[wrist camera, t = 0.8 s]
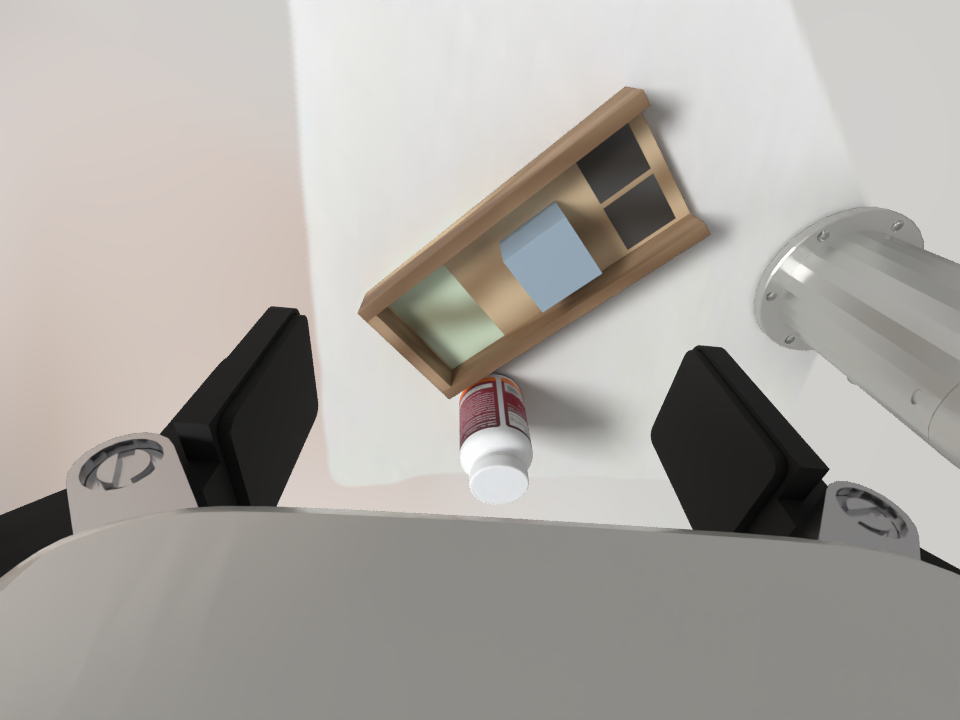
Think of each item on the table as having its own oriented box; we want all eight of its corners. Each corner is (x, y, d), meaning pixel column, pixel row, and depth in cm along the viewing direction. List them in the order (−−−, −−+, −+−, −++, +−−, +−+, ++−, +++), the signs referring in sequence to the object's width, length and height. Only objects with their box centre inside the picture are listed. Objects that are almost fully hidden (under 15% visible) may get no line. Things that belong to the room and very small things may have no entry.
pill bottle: (456, 417, 45) (454, 508, 36) (463, 368, 41) (463, 455, 32) (516, 422, 45) (529, 513, 36) (527, 374, 42) (545, 461, 33)
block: (588, 252, 34) (602, 273, 31) (535, 289, 36) (542, 312, 32) (554, 200, 32) (565, 216, 28) (499, 242, 33) (503, 262, 30)
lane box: (689, 219, 34) (710, 234, 31) (450, 375, 42) (449, 399, 39) (625, 86, 29) (643, 89, 26) (365, 293, 36) (357, 313, 34)
